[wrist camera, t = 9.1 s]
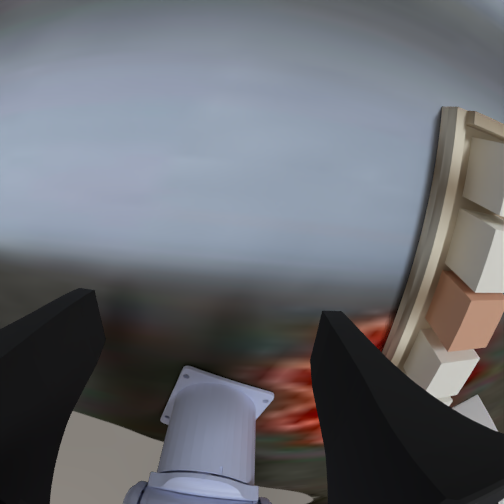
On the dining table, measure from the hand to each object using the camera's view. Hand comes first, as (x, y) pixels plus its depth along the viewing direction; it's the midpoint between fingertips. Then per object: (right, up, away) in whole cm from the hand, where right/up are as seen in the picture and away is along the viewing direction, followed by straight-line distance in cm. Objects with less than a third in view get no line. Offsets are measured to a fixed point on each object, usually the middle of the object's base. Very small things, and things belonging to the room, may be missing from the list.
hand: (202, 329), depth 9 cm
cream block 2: (+17, +8, +6) cm, 20 cm away
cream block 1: (+16, -5, +12) cm, 21 cm away
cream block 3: (+17, +3, +8) cm, 19 cm away
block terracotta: (+17, -1, +10) cm, 19 cm away
